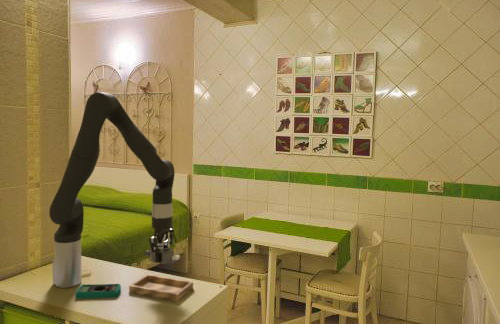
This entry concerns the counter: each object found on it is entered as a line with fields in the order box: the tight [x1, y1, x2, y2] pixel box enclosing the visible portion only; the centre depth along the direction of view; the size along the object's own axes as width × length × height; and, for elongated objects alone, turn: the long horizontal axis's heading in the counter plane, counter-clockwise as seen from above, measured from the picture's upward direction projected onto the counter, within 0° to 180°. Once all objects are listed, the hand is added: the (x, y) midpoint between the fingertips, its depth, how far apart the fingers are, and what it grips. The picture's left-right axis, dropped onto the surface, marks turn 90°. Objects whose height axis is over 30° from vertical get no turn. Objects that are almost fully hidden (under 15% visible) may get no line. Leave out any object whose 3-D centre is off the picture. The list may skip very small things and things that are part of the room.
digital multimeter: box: [75, 283, 122, 300], centre depth 143 cm, size 7×15×3 cm, turn 98°
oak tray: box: [128, 273, 194, 303], centre depth 147 cm, size 20×12×3 cm, turn 71°
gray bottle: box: [143, 247, 181, 265], centre depth 146 cm, size 14×4×4 cm, turn 71°
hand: (162, 259), depth 146 cm, fingers closed on gray bottle, 4 cm apart
